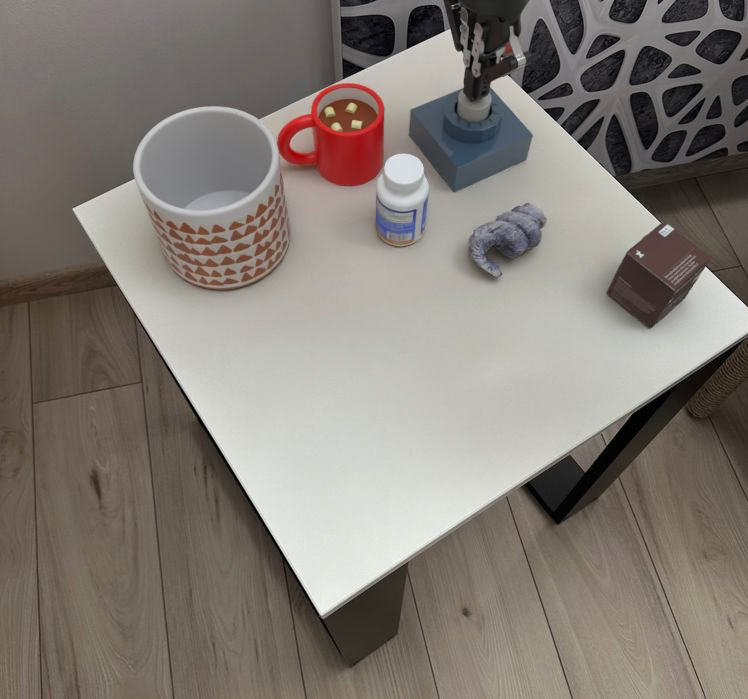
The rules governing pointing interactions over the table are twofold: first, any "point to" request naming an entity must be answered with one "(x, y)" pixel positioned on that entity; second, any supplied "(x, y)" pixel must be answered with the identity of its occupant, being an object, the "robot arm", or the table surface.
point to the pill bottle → (401, 200)
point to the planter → (215, 195)
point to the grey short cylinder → (473, 108)
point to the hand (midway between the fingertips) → (474, 95)
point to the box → (657, 274)
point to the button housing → (468, 140)
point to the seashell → (507, 236)
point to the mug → (341, 134)
